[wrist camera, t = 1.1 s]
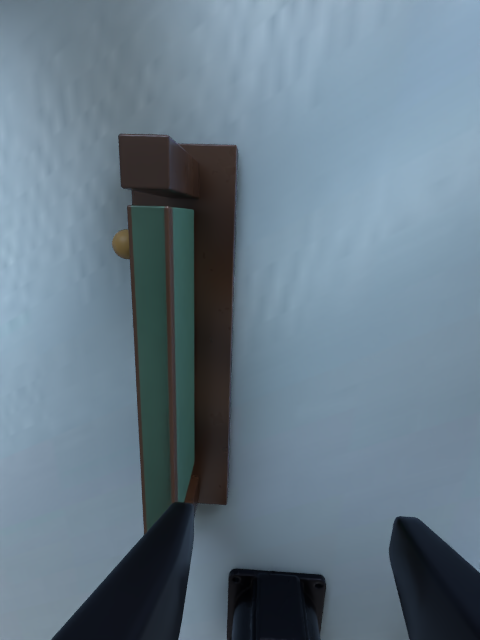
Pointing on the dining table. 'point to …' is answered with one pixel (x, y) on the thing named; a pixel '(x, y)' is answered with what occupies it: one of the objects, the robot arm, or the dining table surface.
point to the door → (162, 349)
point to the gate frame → (198, 280)
